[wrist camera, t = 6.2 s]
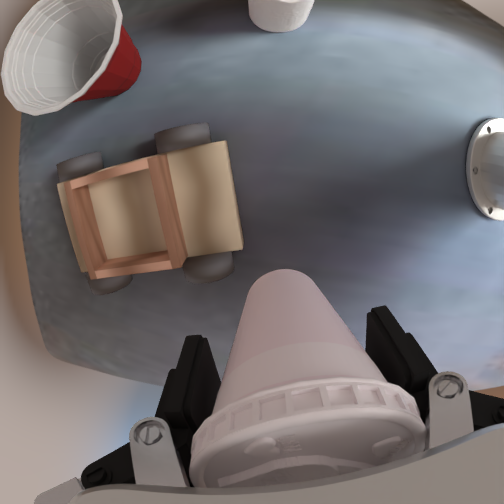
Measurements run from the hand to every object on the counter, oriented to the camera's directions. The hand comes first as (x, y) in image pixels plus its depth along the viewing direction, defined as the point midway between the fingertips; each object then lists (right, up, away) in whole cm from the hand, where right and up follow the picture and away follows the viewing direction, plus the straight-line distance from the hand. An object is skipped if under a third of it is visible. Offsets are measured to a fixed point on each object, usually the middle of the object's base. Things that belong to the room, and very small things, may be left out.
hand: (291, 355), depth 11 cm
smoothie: (0, +1, +4) cm, 4 cm away
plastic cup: (-15, +22, +13) cm, 30 cm away
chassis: (-12, +8, +18) cm, 23 cm away
